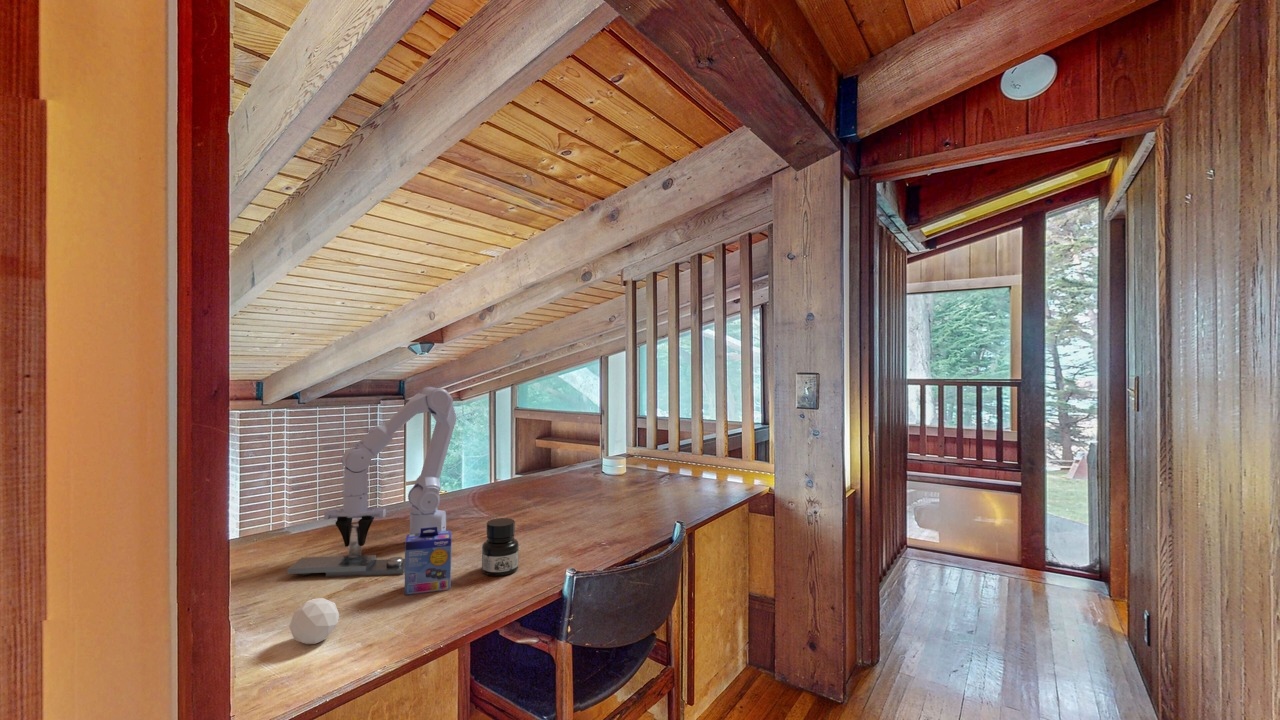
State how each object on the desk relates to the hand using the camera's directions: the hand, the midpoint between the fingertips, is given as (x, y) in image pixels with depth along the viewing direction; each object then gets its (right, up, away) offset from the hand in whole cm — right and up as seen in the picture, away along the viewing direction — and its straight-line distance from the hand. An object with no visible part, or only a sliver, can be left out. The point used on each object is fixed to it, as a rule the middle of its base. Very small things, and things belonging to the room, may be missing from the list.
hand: (355, 545), depth 141 cm
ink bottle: (+40, -4, -8) cm, 41 cm away
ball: (+15, -4, -41) cm, 44 cm away
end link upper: (0, -3, -10) cm, 10 cm away
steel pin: (0, -3, 0) cm, 3 cm away
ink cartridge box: (+27, -4, -19) cm, 33 cm away
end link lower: (+8, -3, -9) cm, 13 cm away
